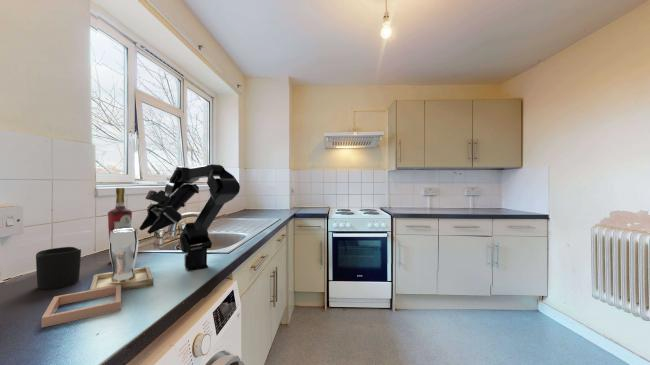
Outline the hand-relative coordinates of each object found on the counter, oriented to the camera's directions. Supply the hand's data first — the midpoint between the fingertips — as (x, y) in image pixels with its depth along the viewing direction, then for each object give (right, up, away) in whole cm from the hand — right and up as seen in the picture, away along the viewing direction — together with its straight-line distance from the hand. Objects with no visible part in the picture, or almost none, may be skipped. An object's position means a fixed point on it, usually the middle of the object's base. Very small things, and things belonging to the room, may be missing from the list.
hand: (144, 231), depth 91 cm
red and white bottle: (-16, -14, +10) cm, 24 cm away
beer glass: (+1, -13, -11) cm, 17 cm away
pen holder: (-17, -14, -12) cm, 25 cm away
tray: (+1, -13, -11) cm, 18 cm away
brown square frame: (+4, -13, -27) cm, 30 cm away
